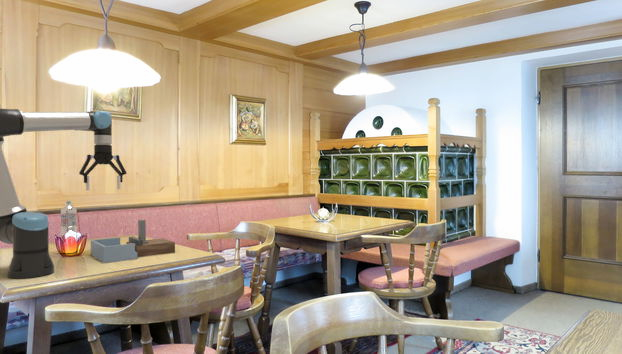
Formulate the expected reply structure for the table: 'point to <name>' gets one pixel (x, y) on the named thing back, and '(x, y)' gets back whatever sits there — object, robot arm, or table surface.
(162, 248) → the brown wooden block
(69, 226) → the water bottle
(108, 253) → the box
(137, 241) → the scraper
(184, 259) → the table surface
